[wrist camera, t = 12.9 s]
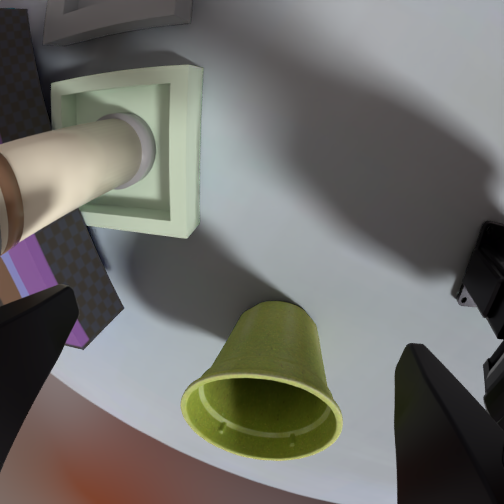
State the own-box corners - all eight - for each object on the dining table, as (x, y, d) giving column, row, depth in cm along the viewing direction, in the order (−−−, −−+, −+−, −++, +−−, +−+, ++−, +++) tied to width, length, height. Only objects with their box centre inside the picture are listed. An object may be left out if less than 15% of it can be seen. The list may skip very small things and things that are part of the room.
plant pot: (353, 289, 21) (365, 388, 14) (325, 379, 26) (320, 468, 18) (219, 269, 22) (172, 356, 15) (218, 362, 27) (187, 444, 19)
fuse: (139, 99, 17) (-56, 134, 6) (167, 169, 19) (-7, 272, 7) (86, 131, 19) (-83, 191, 7) (111, 194, 20) (-43, 292, 9)
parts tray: (203, 68, 16) (188, 64, 14) (199, 223, 21) (186, 238, 19) (73, 81, 18) (51, 83, 16) (80, 210, 22) (61, 222, 20)
